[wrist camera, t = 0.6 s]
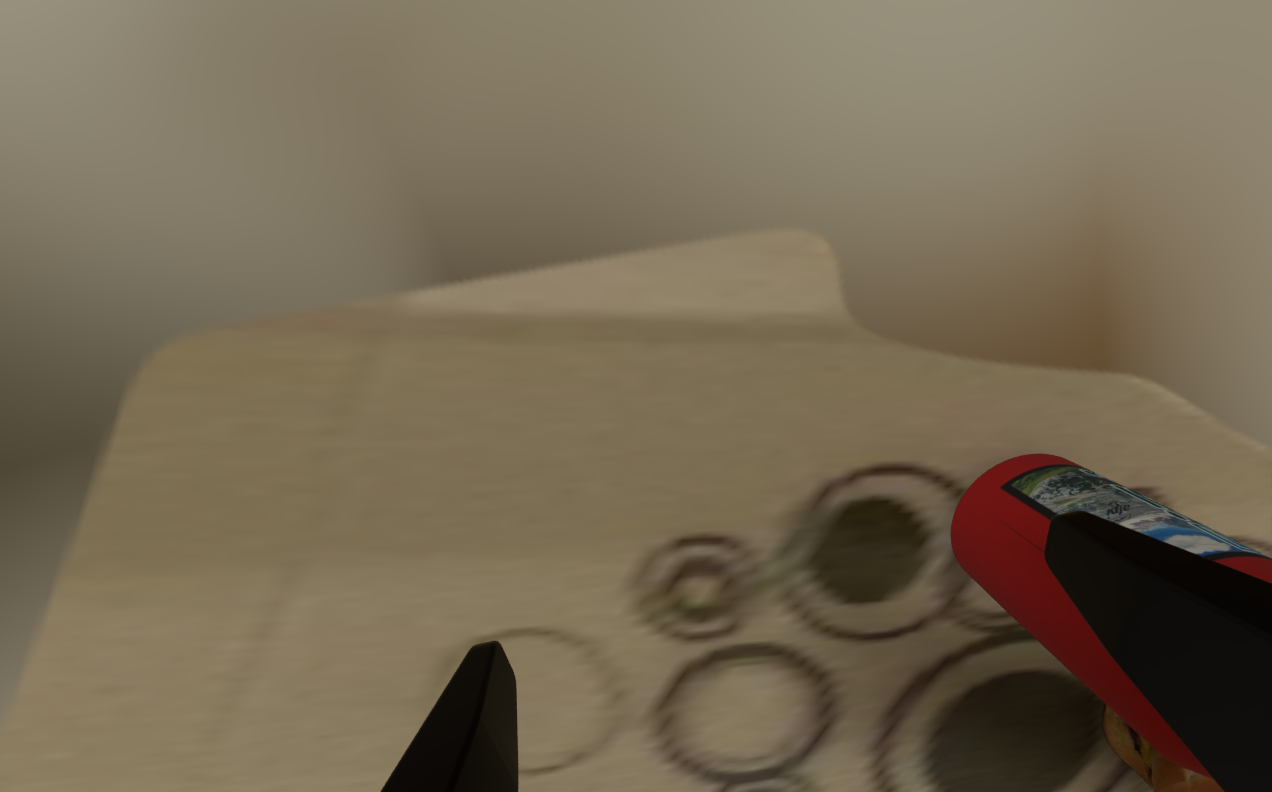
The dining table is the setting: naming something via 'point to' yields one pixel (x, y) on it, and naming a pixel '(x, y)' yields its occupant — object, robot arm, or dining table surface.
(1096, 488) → the beverage can
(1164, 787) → the burger
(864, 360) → the dining table surface
